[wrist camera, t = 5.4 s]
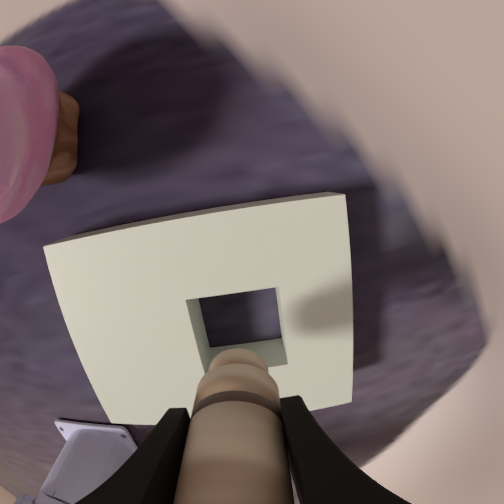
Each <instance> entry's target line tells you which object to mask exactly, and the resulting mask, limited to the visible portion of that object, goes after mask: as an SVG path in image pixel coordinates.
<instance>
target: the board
mask: <svg viewBox="0 0 504 504" xmlns="http://www.w3.org/2000/svg"><path fill="white" fill-rule="evenodd" d="M43 247H44V252H45V256H46V260H47V264H48V267H49V271H50V275H51V278H52V282H53V285H54V289H55V292H56V295H57V298H58V301H59V304H60V308H61V310H62V313H63V316H64V319H65V322H66V325H67V327H68V330H69V333H70V335H71V338H72V341H73V343H74V346H75V348H76V351H77V353H78V355H79V358H80V360H81V362H82V365H83V367H84V369H85V372H86V374H87V376H88V378H89V380H90V382H91V385H92V387H93V389H94V391H95V393H96V395H97V397H98V399H99V401H100V403H101V405H102V407H103V408H104V410H105V412H106V414H107V416H108V418H109V420H110V421H111V423H117V424H138V425H156V424H157V423H158V422H159V420H160V419H161V418H162V416H163V415H164V414H165V413H166V411H167V410H168V409H169V408H187V411H188V413H189V416H190V418H191V415H192V410H193V405H194V401H195V396H196V392H197V387H198V384H199V382H200V380H201V379H202V377H203V376H204V375H205V374H206V373H207V372H209V368H210V364H211V362H212V360H213V359H214V358H215V357H216V356H217V355H218V354H220V353H221V352H223V351H226V350H229V349H235V348H241V349H247V350H250V351H253V352H255V353H257V354H258V355H260V356H261V357H262V358H263V359H264V360H265V362H266V364H267V366H268V372H269V375H270V376H271V377H272V378H273V379H274V380H275V382H276V384H277V386H278V389H279V396H280V398H284V397H290V396H296V395H299V396H301V397H302V399H303V401H304V403H305V405H306V406H307V408H308V410H309V411H312V410H317V409H322V408H327V407H331V406H336V405H340V404H344V403H349V402H352V380H353V296H352V273H351V255H350V241H349V229H348V217H347V207H346V198H345V194H339V193H333V192H321V193H313V194H305V195H298V196H290V197H283V198H275V199H268V200H261V201H255V202H248V203H241V204H235V205H229V206H222V207H216V208H210V209H204V210H198V211H193V212H187V213H181V214H176V215H170V216H165V217H159V218H154V219H149V220H144V221H138V222H133V223H128V224H123V225H119V226H114V227H109V228H104V229H100V230H95V231H90V232H86V233H81V234H77V235H72V236H69V237H66V238H63V239H61V240H58V241H56V242H53V243H51V244H48V245H46V246H43ZM273 287H275V288H276V295H277V303H278V311H279V319H280V326H281V334H282V338H279V339H272V340H266V341H259V342H252V343H244V344H237V345H229V346H220V347H212V348H210V346H209V342H208V338H207V334H206V330H205V325H204V321H203V317H202V312H201V308H200V304H199V299H198V298H203V297H211V296H218V295H225V294H232V293H239V292H246V291H253V290H259V289H266V288H273Z"/></svg>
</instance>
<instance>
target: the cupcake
mask: <svg viewBox="0 0 504 504" xmlns="http://www.w3.org/2000/svg"><path fill="white" fill-rule="evenodd" d="M78 118H79V105H78V103H77V101H76V100H75V99H74V98H73V97H71V96H70V95H68V94H66V93H64V92H62V91H60V90H59V89H58V84H57V79H56V77H55V75H54V72H53V70H52V69H51V68H50V67H49V65H48V63H47V62H46V60H45V59H44V58H43V57H42V56H41V54H39V53H38V52H36V51H34V50H31V49H29V48H27V47H22V46H0V223H2V222H5V221H7V220H9V219H11V218H12V217H14V216H16V215H17V214H18V213H19V212H20V211H21V210H22V209H23V208H24V207H25V206H26V205H27V203H28V202H29V201H30V199H31V198H32V197H33V196H34V194H35V193H36V191H37V189H38V188H39V187H40V186H43V185H50V184H55V183H59V182H63V181H65V180H67V179H68V178H69V177H70V176H71V174H72V173H73V171H74V170H75V168H76V165H77V144H78V135H77V125H78Z"/></svg>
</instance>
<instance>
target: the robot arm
mask: <svg viewBox="0 0 504 504" xmlns="http://www.w3.org/2000/svg"><path fill="white" fill-rule="evenodd" d="M279 399H280V406H281V413H282V419H283V426H284V432H285V438H286V446H287V453H288V460H289V465H290V469H291V473H292V477H293V480H294V484H295V487H296V491H297V495H298V498H299V502H300V504H411V503H409V502H407V501H405V500H404V499H402V498H400V497H399V496H397V495H396V494H394V493H392V492H391V491H389V490H387V489H386V488H384V487H383V486H381V485H380V484H378V483H377V482H376V481H374V480H373V479H372V478H370V477H369V476H368V475H367V474H365V473H364V472H363V471H362V470H361V469H359V468H358V467H357V466H356V465H355V464H354V463H353V462H352V461H351V460H349V459H348V458H347V457H346V456H345V455H344V454H343V453H342V452H341V450H340V449H339V448H338V447H337V446H336V445H335V444H334V443H333V442H332V441H331V439H330V438H329V437H328V436H327V435H326V433H325V432H324V431H323V430H322V428H321V427H320V426H319V425H318V423H317V422H316V420H315V419H314V417H313V416H312V415H311V413H310V411H309V410H308V408H307V406H306V405H305V403H304V401H303V399H302V397H301V396H299V395H296V396H290V397H284V398H279ZM190 419H191V418H190V416H189V413H188V411H187V408H169V409H168V410H167V411H166V413H165V414H164V415H163V416H162V418H161V419H160V420H159V422H158V423H157V424H156V426H155V427H154V428H153V430H152V431H151V432H150V433H149V435H148V436H147V437H146V438H145V440H144V441H143V442H142V443H141V445H140V446H139V447H137V445H136V444H135V442H134V440H133V439H132V437H131V435H130V433H129V431H128V430H127V429H126V428H125V427H123V426H115V425H102V424H91V423H82V422H74V421H67V420H60V419H57V420H56V421H55V424H56V426H57V428H58V429H59V431H60V432H61V434H62V435H63V437H64V438H65V440H66V441H67V442H66V444H65V445H64V447H63V449H62V451H61V452H60V454H59V456H58V458H57V460H56V461H55V463H54V465H53V467H52V469H51V471H50V472H49V474H48V476H47V478H46V480H45V482H44V484H43V486H42V488H41V490H40V491H39V493H38V494H37V496H36V497H35V498H34V499H33V497H32V496H31V495H30V494H28V493H26V494H19V496H18V497H17V499H16V501H15V503H14V504H173V503H174V498H175V492H176V487H177V482H178V477H179V472H180V467H181V462H182V457H183V453H184V448H185V443H186V438H187V433H188V429H189V424H190Z"/></svg>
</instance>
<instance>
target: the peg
mask: <svg viewBox="0 0 504 504" xmlns="http://www.w3.org/2000/svg"><path fill="white" fill-rule="evenodd" d="M279 398H280V396H279V389H278V386H277V384H276V382H275V380H274V379H273V378H272V377H271V376H270V375H269V372H268V366H267V364H266V362H265V360H264V359H263V358H262V357H261V356H260V355H258V354H257V353H255V352H253V351H250V350H247V349H241V348H235V349H229V350H226V351H223V352H221V353H220V354H218V355H217V356H216V357H215V358H214V359H213V360H212V362H211V364H210V368H209V372H207V373H206V374H205V375H204V376H203V377H202V379H201V380H200V382H199V384H198V387H197V392H196V396H195V401H194V405H193V410H192V415H191V419H190V424H189V429H188V433H187V438H186V443H185V448H184V453H183V457H182V462H181V467H180V472H179V477H178V482H177V487H176V492H175V498H174V503H173V504H294V497H293V490H292V482H291V475H290V467H289V460H288V453H287V446H286V438H285V432H284V426H283V419H282V413H281V406H280V399H279Z"/></svg>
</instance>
